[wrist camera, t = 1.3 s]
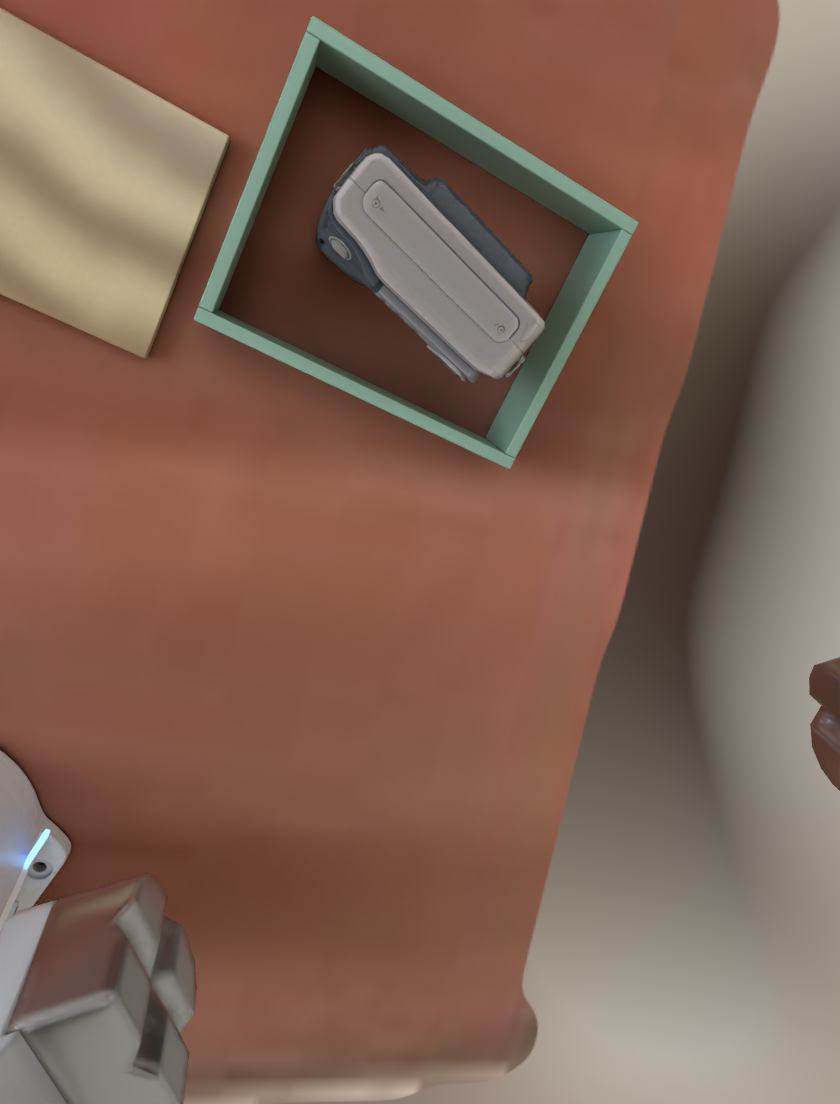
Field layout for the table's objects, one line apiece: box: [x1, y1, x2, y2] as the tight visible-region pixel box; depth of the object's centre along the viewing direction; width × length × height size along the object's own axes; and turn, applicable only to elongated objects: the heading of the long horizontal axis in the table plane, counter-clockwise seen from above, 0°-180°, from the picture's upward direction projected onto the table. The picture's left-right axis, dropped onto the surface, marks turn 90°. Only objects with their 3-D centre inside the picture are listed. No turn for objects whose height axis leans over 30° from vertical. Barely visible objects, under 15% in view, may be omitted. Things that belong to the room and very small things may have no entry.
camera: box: [316, 145, 545, 383], centre depth 36 cm, size 11×6×10 cm, turn 46°
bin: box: [194, 16, 638, 469], centre depth 39 cm, size 14×18×4 cm
